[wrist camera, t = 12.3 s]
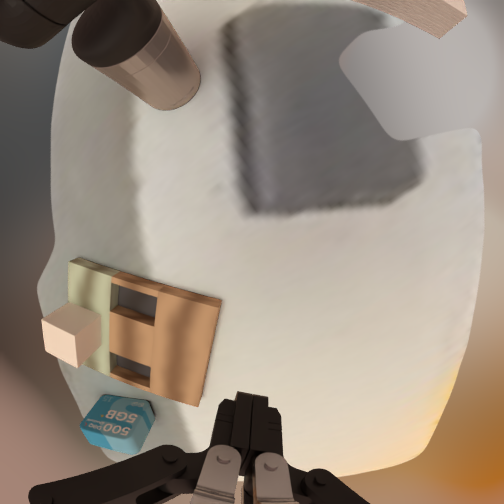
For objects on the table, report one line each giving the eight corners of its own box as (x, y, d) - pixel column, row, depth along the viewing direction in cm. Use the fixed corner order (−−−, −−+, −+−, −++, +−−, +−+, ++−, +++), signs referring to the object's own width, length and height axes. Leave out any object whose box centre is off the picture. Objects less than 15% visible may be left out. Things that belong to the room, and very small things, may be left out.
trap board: (221, 300, 42) (218, 307, 39) (201, 396, 46) (198, 407, 43) (78, 257, 42) (68, 261, 39) (79, 352, 46) (72, 359, 43)
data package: (151, 400, 47) (129, 441, 35) (157, 415, 48) (138, 456, 36) (102, 393, 48) (76, 427, 36) (109, 408, 49) (86, 443, 37)
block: (101, 314, 40) (74, 335, 32) (101, 344, 41) (77, 368, 34) (69, 301, 40) (41, 319, 32) (71, 331, 41) (45, 350, 34)
